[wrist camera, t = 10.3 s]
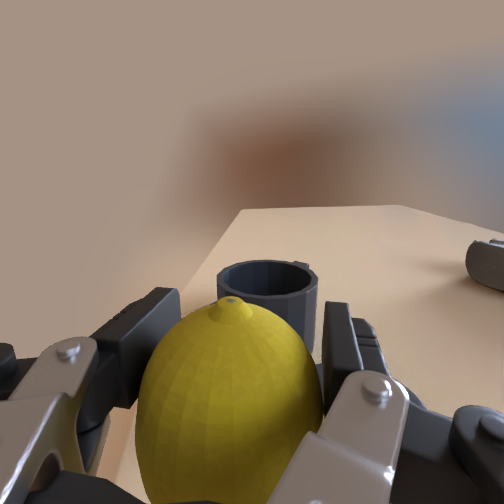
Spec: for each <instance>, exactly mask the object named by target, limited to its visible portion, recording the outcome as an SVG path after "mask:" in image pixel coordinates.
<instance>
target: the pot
mask: <svg viewBox="0 0 504 504" xmlns="http://www.w3.org/2000/svg"><path fill="white" fill-rule="evenodd" d="M317 291H318V277H317V276H316V275H315V273H314V272H313V271H312V270H310V269H309V264H306V263H302V262H298V261H294V262H292V263H291V262H287V261H277V260H252V261H246V262H241V263H236V264H233V265H231V266H229V267H226V268H224V269H223V270H222V271H221V272H220V273H219V274H217V298H218V300H219V299H221V298H223V297H228V296H234V297H238V298H240V299H242V300H243V301H244V302H245V303H249V304H254V305H257V306H260V307H262V308H265V309H267V310H269V311H271V312H272V313H274V314H276V315H277V316H279V317H280V318H281V319H283V320H284V321H285V322H286V323H288V324H289V325H290V326H291V327H292V328H293V329H294V330H295V332H296V333H297V334H298V335H299V336H300V337H301V339H302V340H303V342H304V343H305V345H306V347H307V349H308V350H309V352H310V354H311V353H312V351H313V345H314V337H315V322H316V306H317ZM216 302H217V301H216ZM216 302H214V303H212V304H215V303H216ZM212 304H210V305H212Z"/></svg>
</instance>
